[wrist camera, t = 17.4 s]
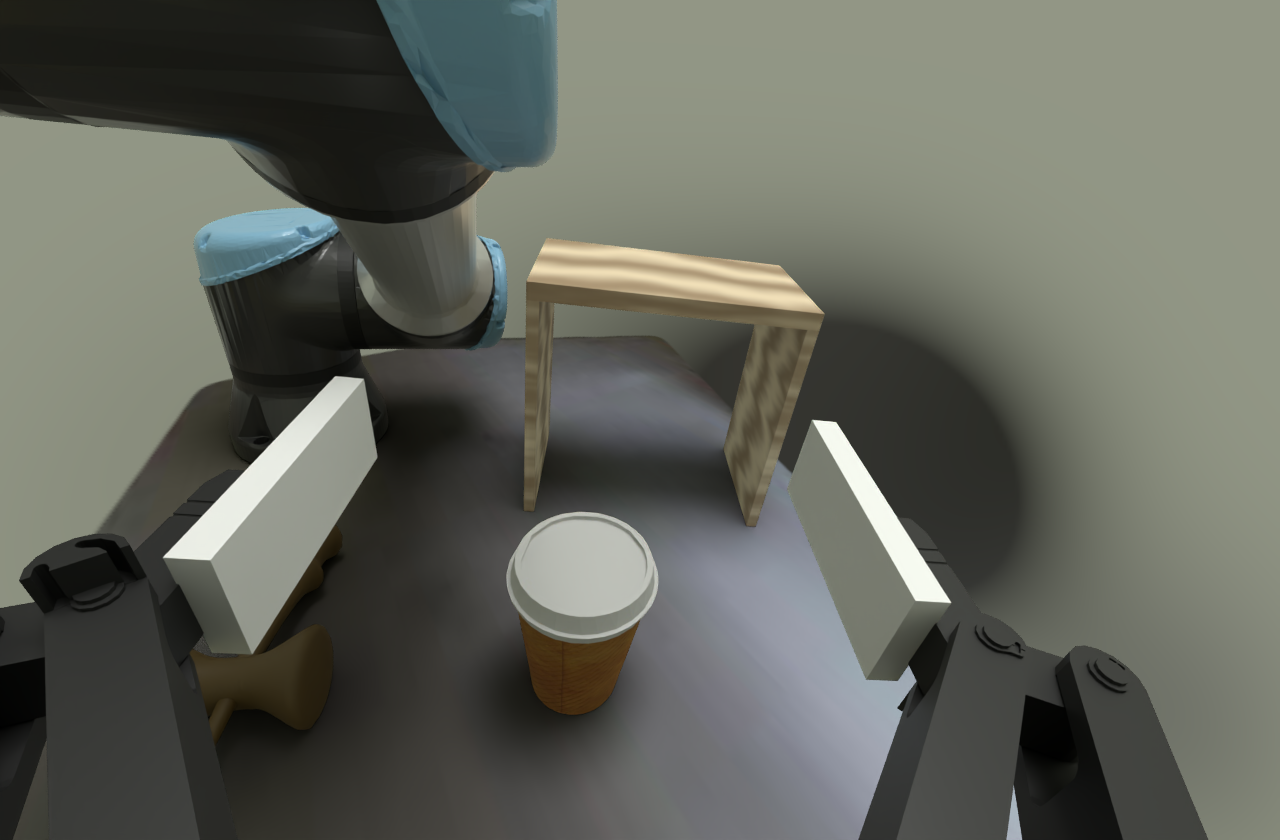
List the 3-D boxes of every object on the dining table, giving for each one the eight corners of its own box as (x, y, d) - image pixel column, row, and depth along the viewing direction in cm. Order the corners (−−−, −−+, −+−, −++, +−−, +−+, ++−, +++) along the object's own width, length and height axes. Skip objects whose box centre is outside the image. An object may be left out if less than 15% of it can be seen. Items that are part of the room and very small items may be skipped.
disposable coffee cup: (571, 598, 45) (579, 488, 38) (663, 667, 40) (689, 556, 34) (480, 678, 38) (472, 561, 31) (578, 772, 33) (592, 657, 27)
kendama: (378, 554, 47) (297, 809, 30) (256, 562, 45) (96, 839, 28) (367, 501, 44) (269, 752, 27) (235, 507, 42) (42, 782, 25)
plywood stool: (755, 526, 55) (824, 314, 43) (523, 510, 53) (526, 281, 41) (731, 449, 67) (779, 265, 55) (540, 433, 65) (546, 238, 52)
